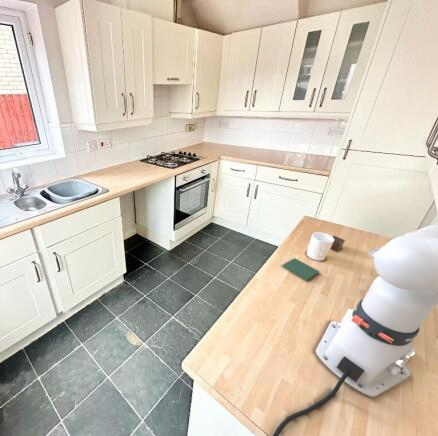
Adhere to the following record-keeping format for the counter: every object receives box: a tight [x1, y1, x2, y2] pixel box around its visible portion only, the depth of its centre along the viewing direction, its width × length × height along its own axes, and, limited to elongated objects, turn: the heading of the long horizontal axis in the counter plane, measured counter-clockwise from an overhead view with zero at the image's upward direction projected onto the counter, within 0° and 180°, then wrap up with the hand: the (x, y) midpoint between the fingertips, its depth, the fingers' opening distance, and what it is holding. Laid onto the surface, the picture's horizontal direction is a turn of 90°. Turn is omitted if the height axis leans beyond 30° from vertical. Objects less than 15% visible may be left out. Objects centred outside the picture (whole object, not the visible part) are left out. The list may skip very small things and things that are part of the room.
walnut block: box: [330, 235, 346, 252], centre depth 111 cm, size 4×4×4 cm
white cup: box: [306, 231, 334, 262], centre depth 105 cm, size 8×8×10 cm
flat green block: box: [282, 258, 320, 282], centre depth 99 cm, size 8×10×1 cm
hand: (370, 253), depth 89 cm, fingers closed
